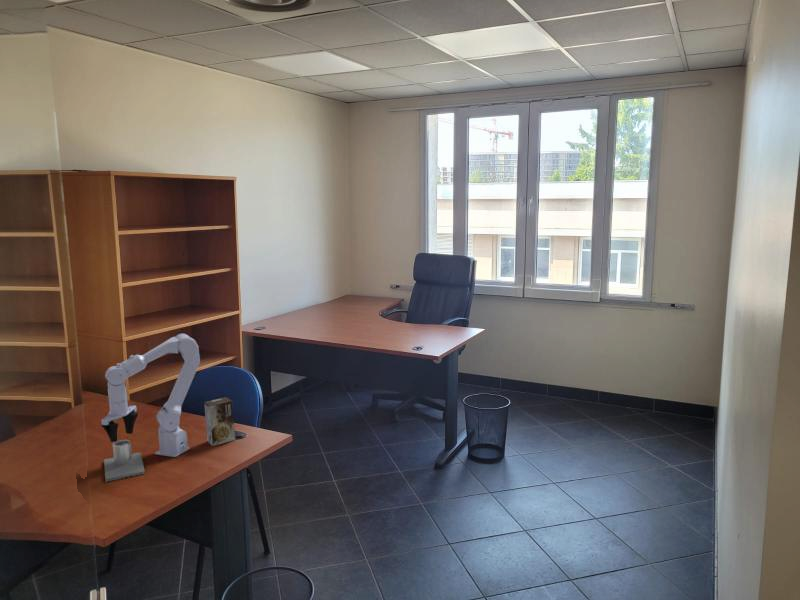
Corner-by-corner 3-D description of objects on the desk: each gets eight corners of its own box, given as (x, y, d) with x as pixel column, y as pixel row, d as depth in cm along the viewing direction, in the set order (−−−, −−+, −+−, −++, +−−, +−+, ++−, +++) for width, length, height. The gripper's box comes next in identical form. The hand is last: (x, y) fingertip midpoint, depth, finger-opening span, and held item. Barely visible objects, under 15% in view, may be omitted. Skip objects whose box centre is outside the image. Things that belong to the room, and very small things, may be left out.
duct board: (140, 454, 214) (139, 444, 213) (145, 473, 198) (143, 462, 197) (104, 462, 208) (103, 451, 207) (105, 482, 192) (104, 470, 192)
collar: (131, 457, 209) (130, 438, 208) (132, 463, 204) (130, 444, 203) (114, 460, 207) (112, 441, 206) (114, 466, 202) (112, 447, 201)
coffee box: (229, 435, 230) (226, 396, 228) (235, 440, 225) (232, 400, 223) (206, 441, 225) (203, 401, 222) (212, 446, 220) (209, 405, 217)
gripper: (123, 393, 212) (127, 428, 214) (92, 406, 198) (96, 444, 200) (139, 394, 210) (143, 430, 212) (109, 407, 196) (113, 446, 198)
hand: (121, 437), depth 206 cm, fingers open, 7 cm apart
